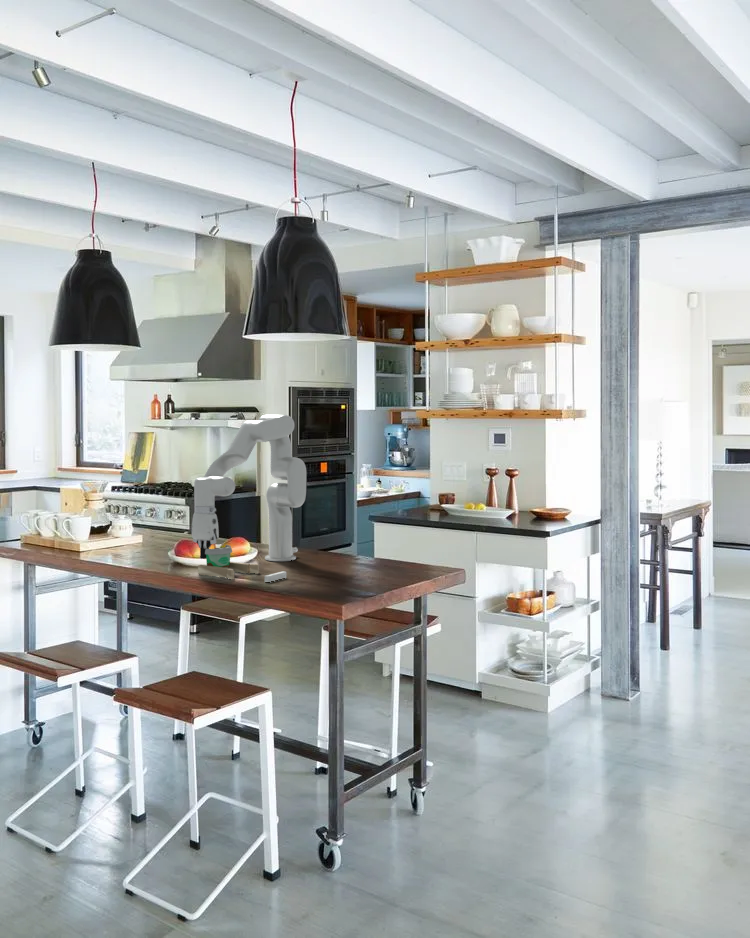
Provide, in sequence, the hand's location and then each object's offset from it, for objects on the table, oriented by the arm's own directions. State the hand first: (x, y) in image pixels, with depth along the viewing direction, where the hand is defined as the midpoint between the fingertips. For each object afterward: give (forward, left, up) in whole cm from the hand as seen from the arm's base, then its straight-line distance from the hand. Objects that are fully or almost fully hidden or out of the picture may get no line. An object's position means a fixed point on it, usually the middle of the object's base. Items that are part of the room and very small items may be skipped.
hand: (204, 558), depth 345 cm
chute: (0, +11, -5) cm, 12 cm away
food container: (0, +8, -5) cm, 10 cm away
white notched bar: (0, +33, -5) cm, 34 cm away
